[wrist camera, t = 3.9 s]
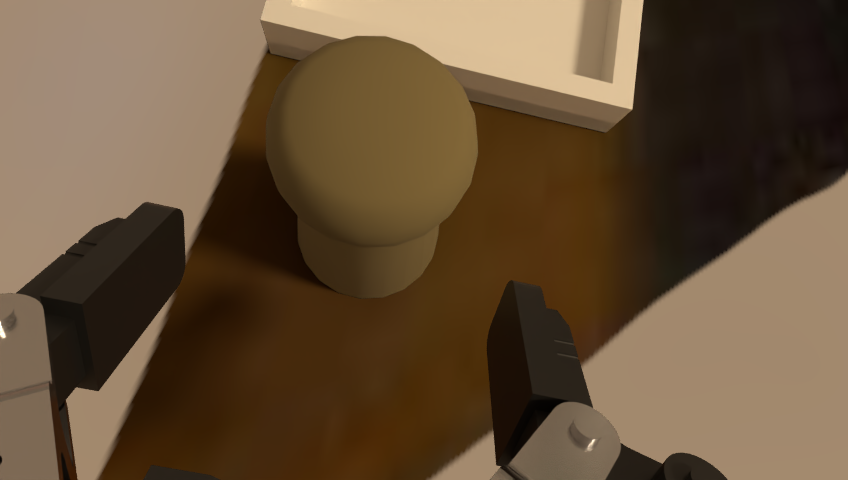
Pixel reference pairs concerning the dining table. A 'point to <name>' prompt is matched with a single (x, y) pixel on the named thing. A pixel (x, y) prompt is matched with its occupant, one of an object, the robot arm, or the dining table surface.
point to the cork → (370, 159)
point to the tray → (492, 47)
